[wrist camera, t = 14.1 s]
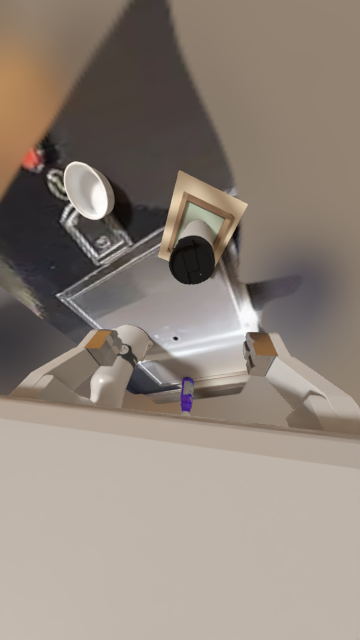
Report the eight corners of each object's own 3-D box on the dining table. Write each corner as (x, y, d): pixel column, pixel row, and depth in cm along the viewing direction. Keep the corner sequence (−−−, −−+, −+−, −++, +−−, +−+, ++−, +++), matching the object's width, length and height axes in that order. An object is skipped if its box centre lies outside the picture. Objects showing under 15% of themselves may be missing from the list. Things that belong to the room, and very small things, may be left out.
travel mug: (208, 213, 31) (211, 229, 16) (212, 245, 35) (219, 283, 20) (180, 222, 33) (159, 245, 18) (187, 252, 37) (176, 292, 22)
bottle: (195, 382, 83) (193, 418, 70) (186, 383, 85) (183, 418, 72) (190, 376, 79) (187, 412, 66) (181, 377, 81) (176, 412, 68)
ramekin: (115, 224, 36) (106, 227, 33) (78, 206, 35) (65, 207, 32) (119, 179, 31) (109, 177, 28) (76, 155, 29) (60, 150, 26)
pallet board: (209, 275, 42) (209, 279, 40) (159, 255, 40) (157, 257, 38) (246, 204, 31) (249, 204, 29) (180, 171, 29) (178, 169, 27)
